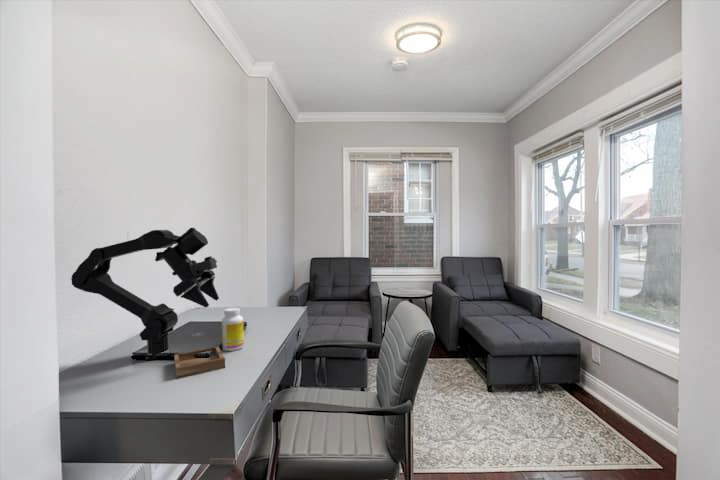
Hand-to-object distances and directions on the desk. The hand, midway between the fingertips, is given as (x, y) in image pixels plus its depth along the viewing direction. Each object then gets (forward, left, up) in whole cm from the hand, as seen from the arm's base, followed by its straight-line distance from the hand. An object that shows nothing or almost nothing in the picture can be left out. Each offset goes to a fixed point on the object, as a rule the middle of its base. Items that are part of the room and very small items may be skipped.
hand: (212, 302), depth 104 cm
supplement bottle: (-1, +6, -16) cm, 17 cm away
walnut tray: (+8, -5, -16) cm, 19 cm away
